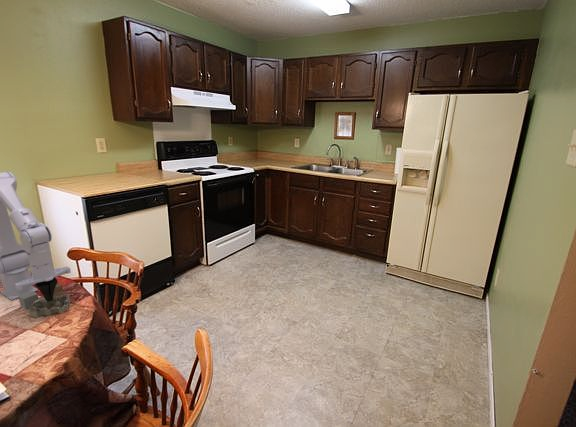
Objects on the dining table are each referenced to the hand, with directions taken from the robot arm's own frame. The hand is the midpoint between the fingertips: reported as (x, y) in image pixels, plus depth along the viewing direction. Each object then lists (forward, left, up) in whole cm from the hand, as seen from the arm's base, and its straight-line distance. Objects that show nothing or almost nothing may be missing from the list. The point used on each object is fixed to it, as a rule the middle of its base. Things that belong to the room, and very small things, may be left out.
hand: (49, 299), depth 103 cm
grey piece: (0, 0, -4) cm, 4 cm away
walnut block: (-9, +5, -4) cm, 11 cm away
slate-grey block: (-9, -2, -4) cm, 10 cm away
